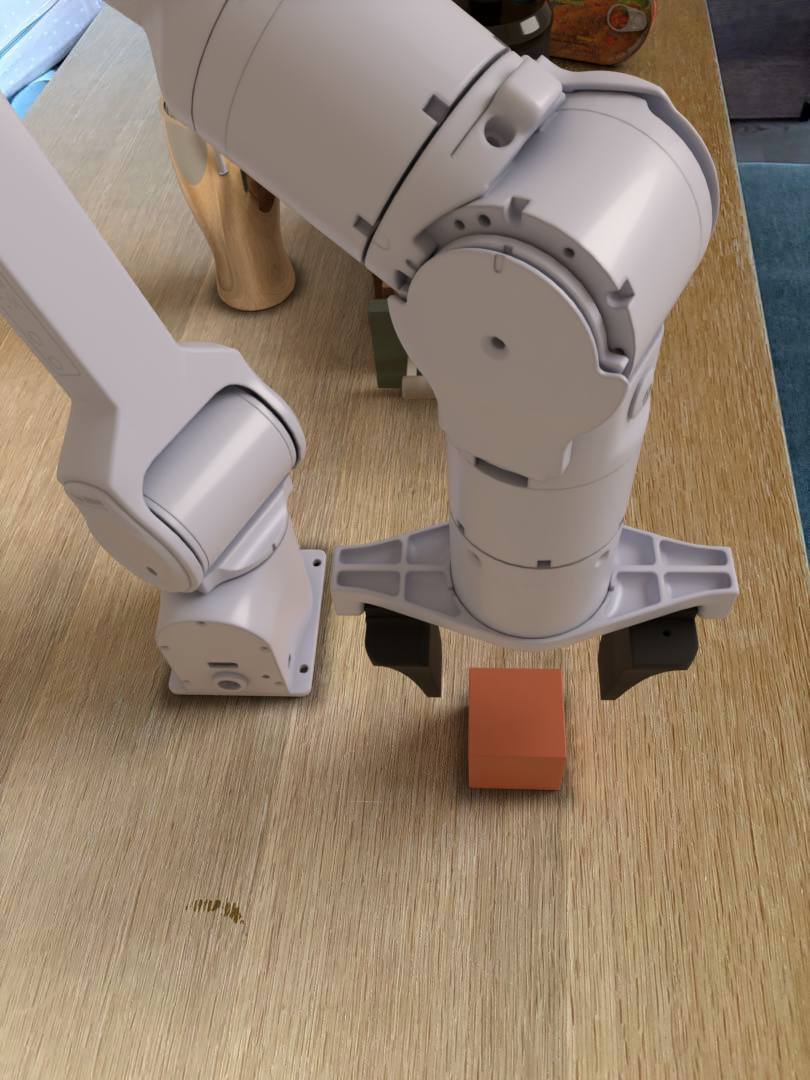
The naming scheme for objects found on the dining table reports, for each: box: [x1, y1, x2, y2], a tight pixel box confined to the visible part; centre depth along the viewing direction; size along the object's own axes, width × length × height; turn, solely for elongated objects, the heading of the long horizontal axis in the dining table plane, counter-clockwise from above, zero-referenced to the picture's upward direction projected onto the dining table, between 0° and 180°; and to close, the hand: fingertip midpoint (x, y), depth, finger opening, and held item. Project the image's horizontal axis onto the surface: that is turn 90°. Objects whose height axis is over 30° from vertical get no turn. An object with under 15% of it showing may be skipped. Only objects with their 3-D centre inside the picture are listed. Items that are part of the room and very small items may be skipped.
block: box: [467, 667, 568, 791], centre depth 45 cm, size 5×5×5 cm
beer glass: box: [157, 95, 297, 312], centre depth 63 cm, size 7×7×15 cm
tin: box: [549, 0, 658, 66], centre depth 82 cm, size 15×3×8 cm, turn 64°
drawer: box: [367, 281, 437, 400], centre depth 60 cm, size 18×11×7 cm, turn 177°
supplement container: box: [451, 0, 554, 61], centre depth 75 cm, size 10×10×12 cm
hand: (519, 678), depth 40 cm, fingers open, 7 cm apart
